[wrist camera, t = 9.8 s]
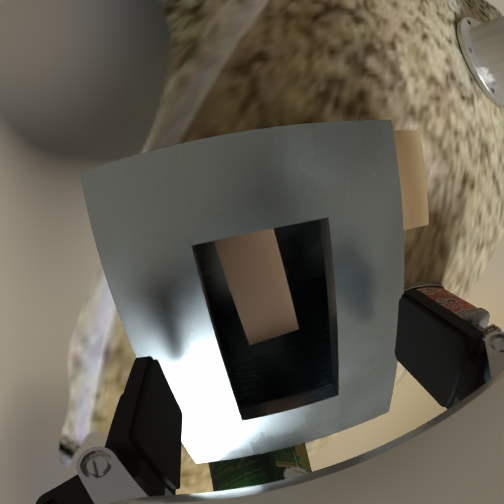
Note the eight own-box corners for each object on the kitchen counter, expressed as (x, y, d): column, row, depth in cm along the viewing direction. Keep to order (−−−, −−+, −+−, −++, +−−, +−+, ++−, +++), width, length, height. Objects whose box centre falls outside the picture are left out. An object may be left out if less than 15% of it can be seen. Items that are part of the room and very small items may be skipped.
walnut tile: (253, 209, 19) (271, 222, 13) (275, 288, 20) (299, 329, 15) (213, 221, 19) (213, 239, 13) (238, 300, 20) (249, 345, 15)
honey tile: (371, 139, 20) (419, 130, 14) (381, 212, 21) (428, 224, 15) (341, 140, 19) (385, 130, 14) (352, 217, 21) (396, 232, 15)
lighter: (377, 321, 24) (443, 382, 14) (383, 287, 23) (459, 341, 13) (436, 307, 25) (500, 351, 15) (442, 277, 24) (512, 316, 14)
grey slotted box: (310, 143, 19) (390, 120, 9) (332, 336, 23) (388, 411, 14) (143, 175, 18) (80, 173, 8) (197, 368, 22) (195, 463, 13)
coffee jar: (249, 459, 27) (277, 589, 9) (194, 437, 25) (202, 592, 7) (309, 417, 26) (373, 560, 8) (256, 389, 24) (308, 578, 6)
